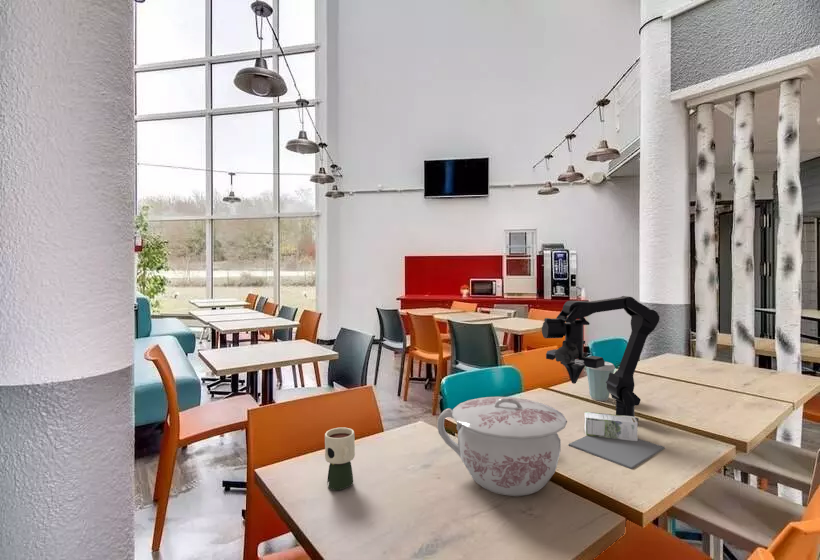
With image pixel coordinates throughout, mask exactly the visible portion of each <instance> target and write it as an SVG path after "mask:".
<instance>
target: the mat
mask: <svg viewBox="0 0 820 560" xmlns="http://www.w3.org/2000/svg"><path fill="white" fill-rule="evenodd" d="M637 440H638V441H629V440H621V439H613V438H605V437H596V436H588V435H584V436H583V437H581V438H579V439H576V440H575V441H572V442H569V444H568V446H569V447H571V448H574V449H577V450H580V451H583V452H585V453H588V454H590V455H592V456H596V457H599V458H601V459H604V460H606V461H609V462H612V463H614V464H617V465H619V466H622V467H625V468H628V469H631V470H633V469H634V468H635V467H637V466H639V465H641V464H642V463H643V462H645V461H646V460H649V459H650V458H652V457H653V456H655V455H657V454H658V453H660V452H662V451H663V450H665V449H666V447H665V446H663V445H660V444H658V443H654V442H651V441H648V440H644V439H641V438H638V437H637Z"/></svg>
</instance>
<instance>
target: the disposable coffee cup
mask: <svg viewBox="0 0 820 560" xmlns="http://www.w3.org/2000/svg"><path fill="white" fill-rule="evenodd" d="M585 367H586V366H585ZM615 369H616V365H614V363H612V362H609V361H605V366H603V367H599V368H590V367H586V374H587V382H588V383H587V384H588V389H589V396H590V398H591V399H592V400H594V401H599V402H606V401H608V399H609V398H610V395H611V394H610V393H609V392H608V390H607V383H606V381H607V380H608V377H609V373H610V372H611V373H613V374H614V373H615Z"/></svg>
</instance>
